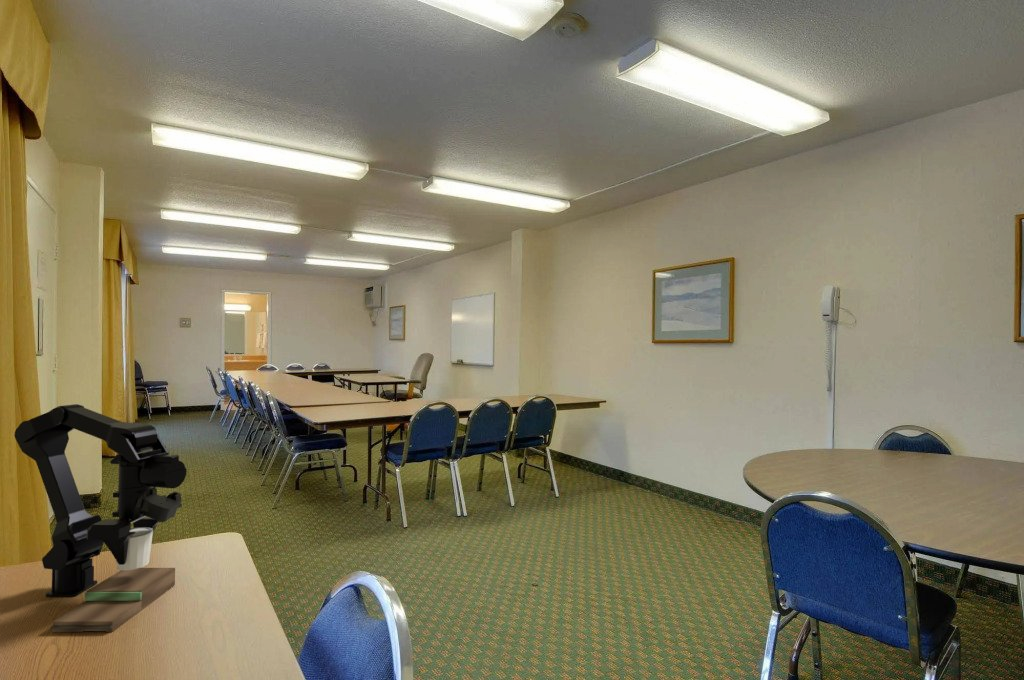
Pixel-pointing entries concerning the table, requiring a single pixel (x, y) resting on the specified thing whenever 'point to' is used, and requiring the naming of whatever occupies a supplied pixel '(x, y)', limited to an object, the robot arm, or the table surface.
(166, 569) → the stepped riser
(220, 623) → the table surface
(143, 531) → the white tapered cup
